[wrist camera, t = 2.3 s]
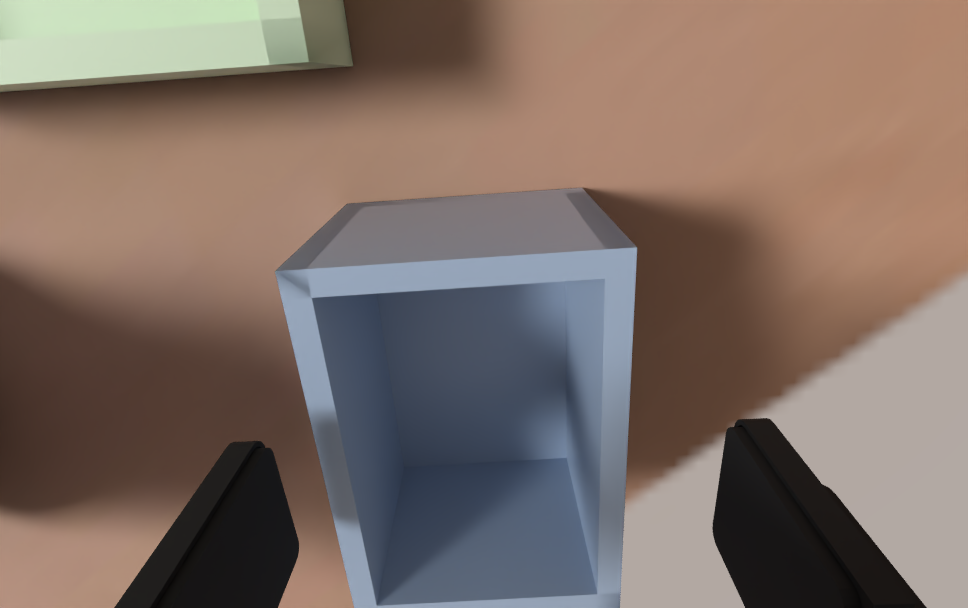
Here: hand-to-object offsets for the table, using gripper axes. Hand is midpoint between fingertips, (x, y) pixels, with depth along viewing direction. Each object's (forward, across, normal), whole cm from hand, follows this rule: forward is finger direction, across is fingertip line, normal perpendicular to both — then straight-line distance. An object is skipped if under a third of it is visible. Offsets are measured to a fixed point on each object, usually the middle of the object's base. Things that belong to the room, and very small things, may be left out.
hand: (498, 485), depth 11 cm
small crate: (+7, +1, 0) cm, 7 cm away
